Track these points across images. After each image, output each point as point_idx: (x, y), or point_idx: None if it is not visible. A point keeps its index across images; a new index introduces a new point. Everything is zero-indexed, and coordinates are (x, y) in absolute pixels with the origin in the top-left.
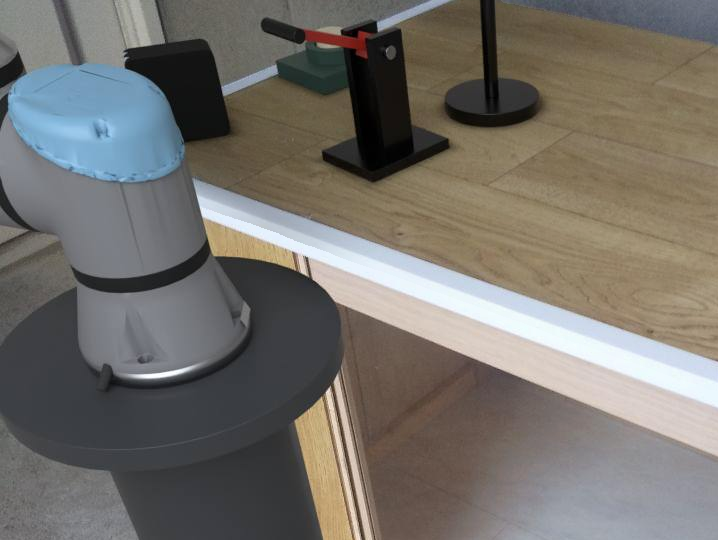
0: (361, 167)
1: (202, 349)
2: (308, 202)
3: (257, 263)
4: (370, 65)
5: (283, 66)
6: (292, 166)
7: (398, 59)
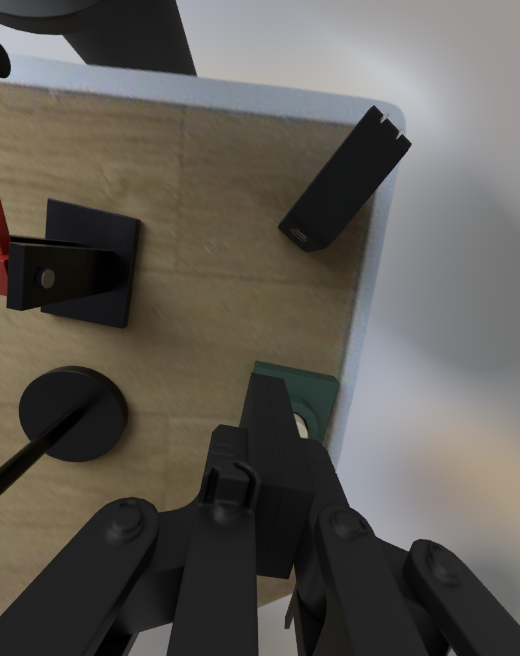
0: (66, 203)
1: None
2: (80, 124)
3: (57, 5)
4: None
5: (325, 379)
6: (160, 192)
7: None
